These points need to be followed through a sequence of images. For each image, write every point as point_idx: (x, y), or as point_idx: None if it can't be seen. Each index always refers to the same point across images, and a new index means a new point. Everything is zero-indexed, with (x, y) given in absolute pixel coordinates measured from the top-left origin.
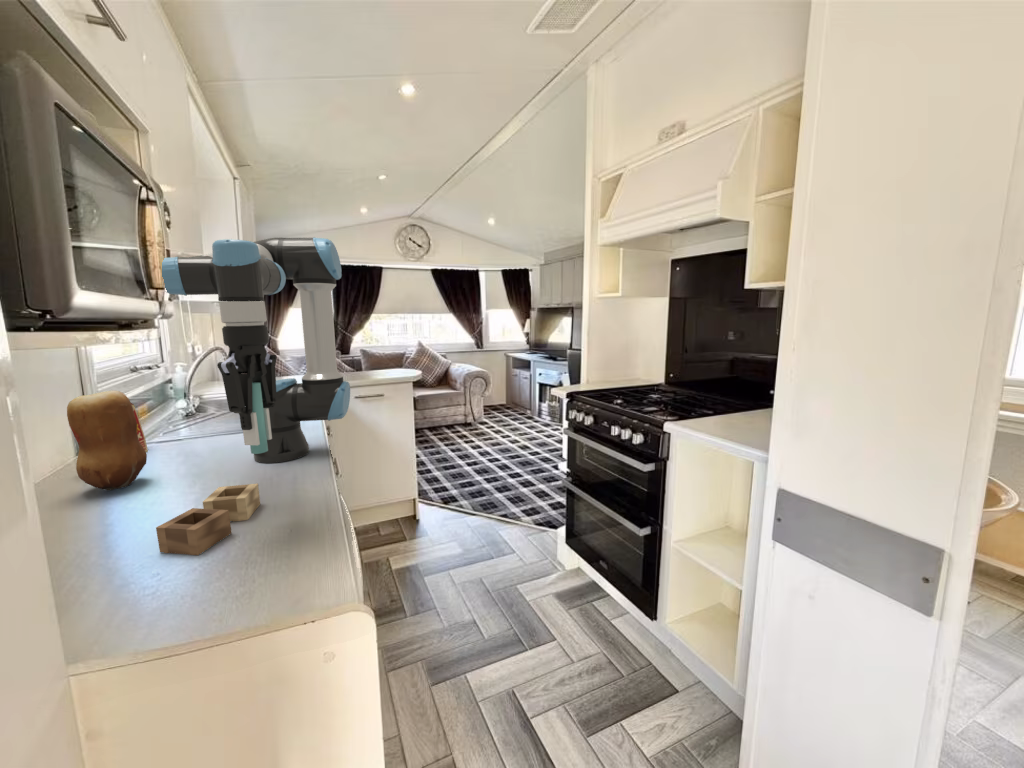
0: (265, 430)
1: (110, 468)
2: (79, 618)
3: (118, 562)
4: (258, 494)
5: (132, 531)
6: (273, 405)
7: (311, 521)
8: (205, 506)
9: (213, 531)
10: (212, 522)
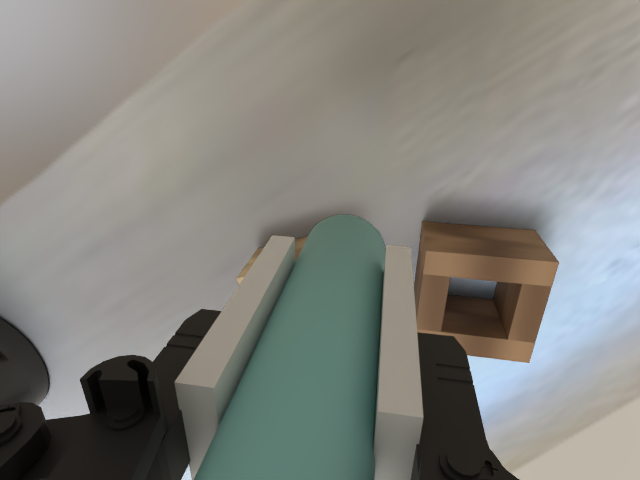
0: (308, 274)
1: None
2: None
3: (545, 369)
4: (252, 261)
5: None
6: (118, 365)
7: (343, 23)
8: None
9: (486, 240)
10: (491, 252)
